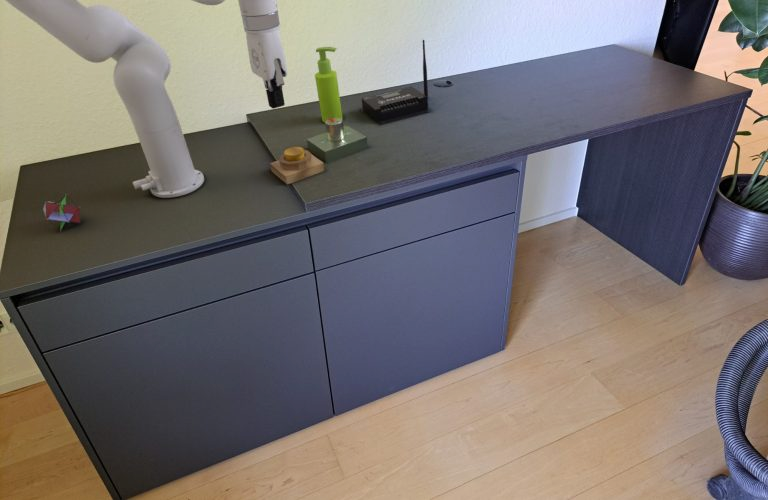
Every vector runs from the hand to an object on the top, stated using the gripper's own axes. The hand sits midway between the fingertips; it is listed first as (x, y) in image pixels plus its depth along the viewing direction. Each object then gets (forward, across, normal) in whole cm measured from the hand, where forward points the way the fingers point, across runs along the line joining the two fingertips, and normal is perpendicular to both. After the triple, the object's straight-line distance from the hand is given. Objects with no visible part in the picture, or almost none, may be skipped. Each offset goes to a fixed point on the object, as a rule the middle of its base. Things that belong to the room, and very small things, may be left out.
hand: (277, 106), depth 126 cm
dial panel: (+16, -2, +15) cm, 22 cm away
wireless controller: (+16, -12, +42) cm, 46 cm away
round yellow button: (+13, +2, +1) cm, 13 cm away
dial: (+13, -2, +15) cm, 20 cm away
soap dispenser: (+16, -20, +24) cm, 35 cm away
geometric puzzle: (+17, -10, -49) cm, 53 cm away
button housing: (+16, +2, +1) cm, 16 cm away
